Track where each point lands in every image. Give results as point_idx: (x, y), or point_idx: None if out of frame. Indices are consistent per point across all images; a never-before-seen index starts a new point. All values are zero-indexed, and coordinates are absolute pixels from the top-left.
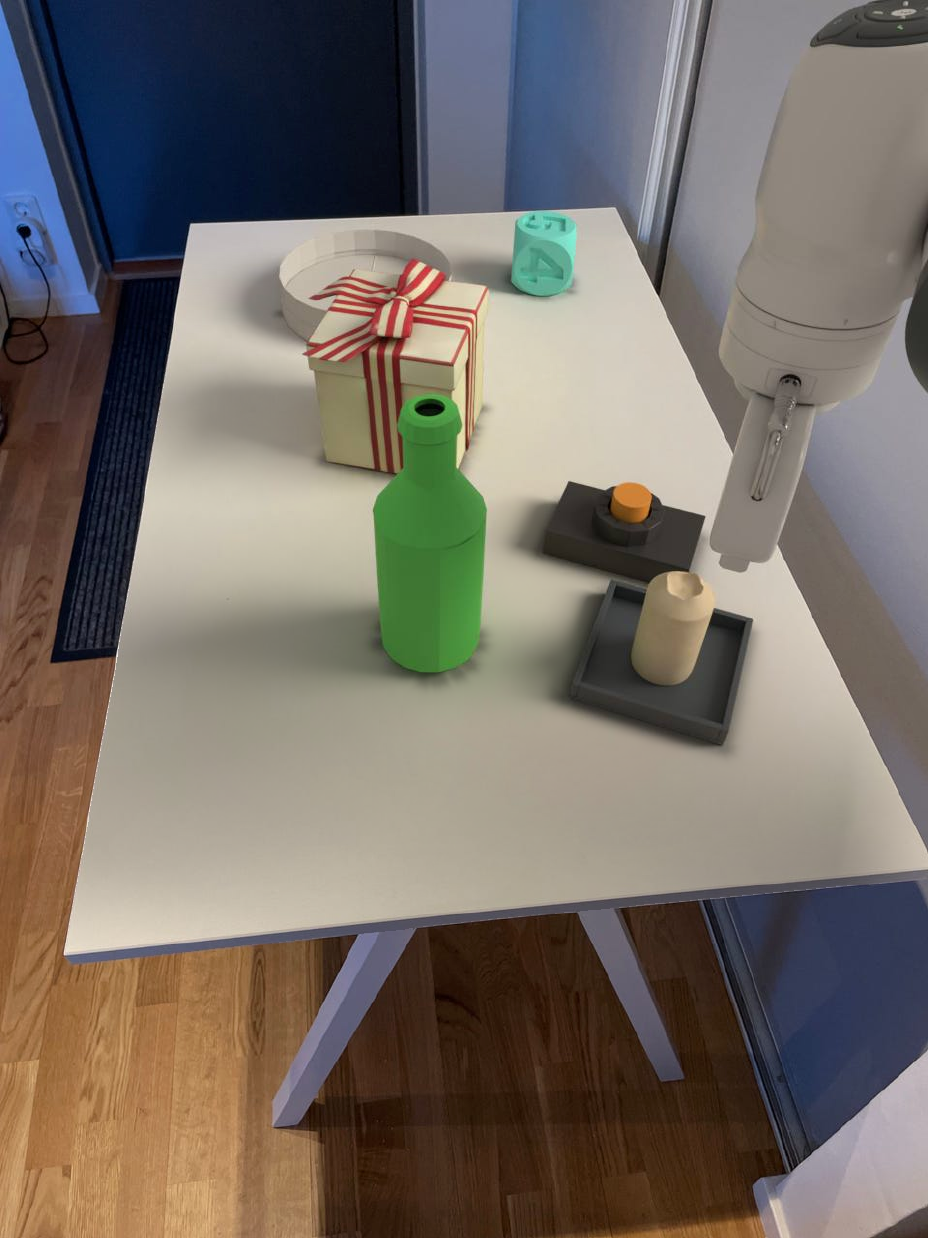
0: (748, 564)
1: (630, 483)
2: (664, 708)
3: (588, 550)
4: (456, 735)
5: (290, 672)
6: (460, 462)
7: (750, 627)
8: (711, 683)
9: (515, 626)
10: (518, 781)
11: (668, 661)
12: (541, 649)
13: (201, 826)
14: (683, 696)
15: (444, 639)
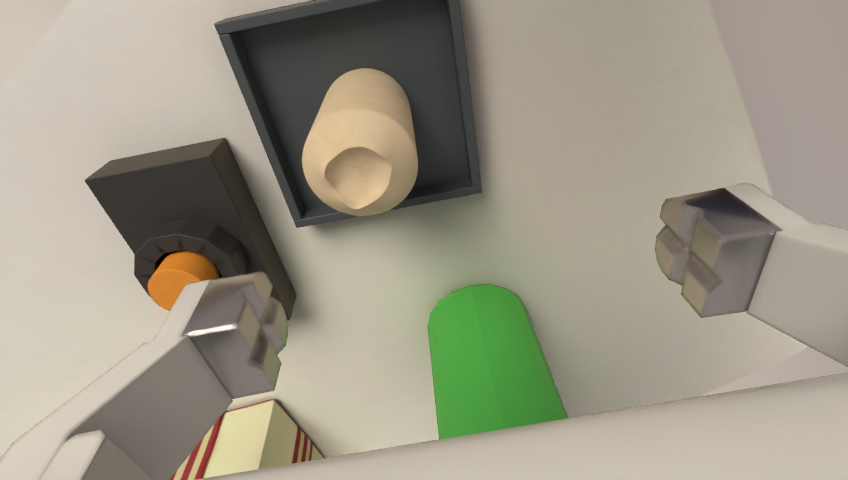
0: (769, 196)
1: (160, 303)
2: (461, 78)
3: (272, 268)
4: (572, 246)
5: (562, 372)
6: (244, 407)
7: (236, 21)
8: (360, 33)
9: (413, 268)
10: (604, 173)
11: (409, 111)
12: (427, 234)
13: (719, 340)
14: (407, 60)
15: (527, 329)
